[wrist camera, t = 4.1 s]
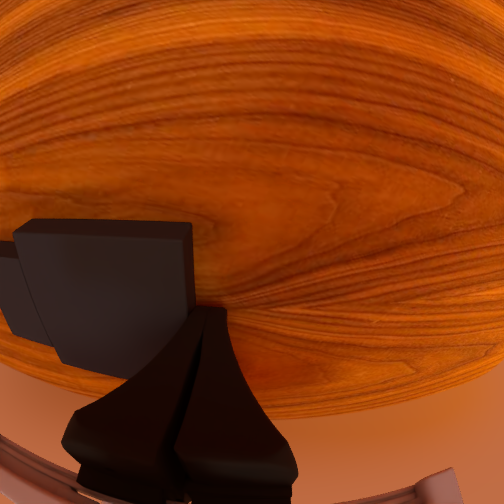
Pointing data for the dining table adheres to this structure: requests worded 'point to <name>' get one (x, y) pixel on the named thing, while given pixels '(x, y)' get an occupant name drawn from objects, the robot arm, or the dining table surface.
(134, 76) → the dining table surface
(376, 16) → the dining table surface
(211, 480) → the robot arm
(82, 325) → the small pad
